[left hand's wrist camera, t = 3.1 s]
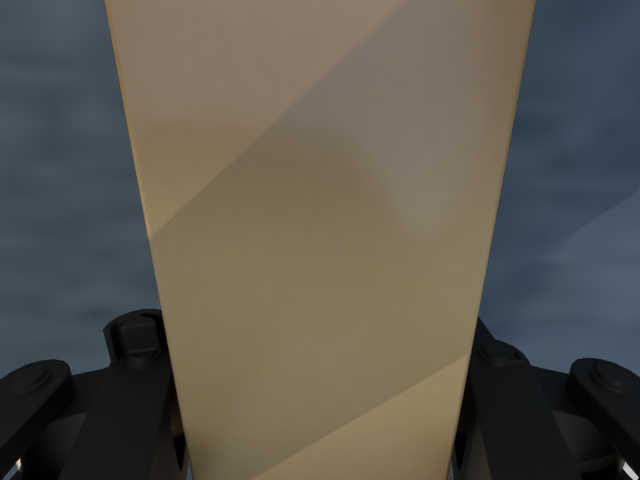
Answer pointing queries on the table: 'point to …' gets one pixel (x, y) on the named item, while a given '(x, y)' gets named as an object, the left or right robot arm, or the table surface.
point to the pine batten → (320, 219)
